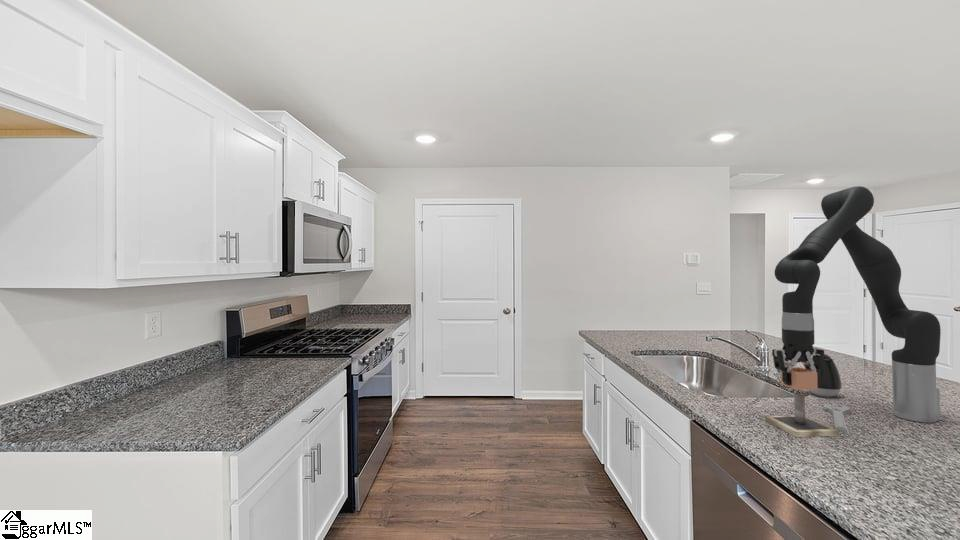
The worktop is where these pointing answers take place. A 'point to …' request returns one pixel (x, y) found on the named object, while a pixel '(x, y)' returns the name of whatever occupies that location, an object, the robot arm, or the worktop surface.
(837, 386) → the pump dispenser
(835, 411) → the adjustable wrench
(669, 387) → the worktop surface
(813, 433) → the post plate
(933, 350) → the robot arm
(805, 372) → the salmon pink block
